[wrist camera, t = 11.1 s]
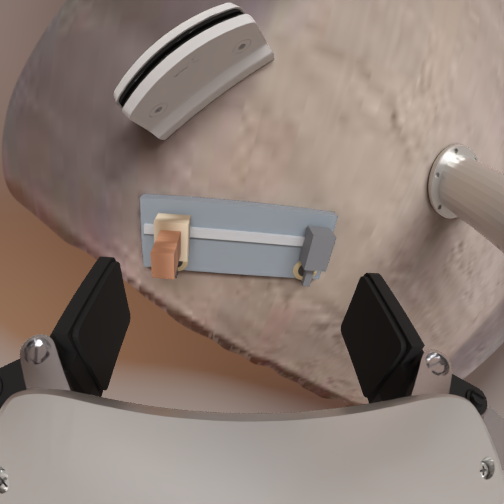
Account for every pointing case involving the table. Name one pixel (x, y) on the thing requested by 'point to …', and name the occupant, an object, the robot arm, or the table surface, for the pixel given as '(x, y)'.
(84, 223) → the table surface
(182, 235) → the block
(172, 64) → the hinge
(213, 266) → the gauge board
